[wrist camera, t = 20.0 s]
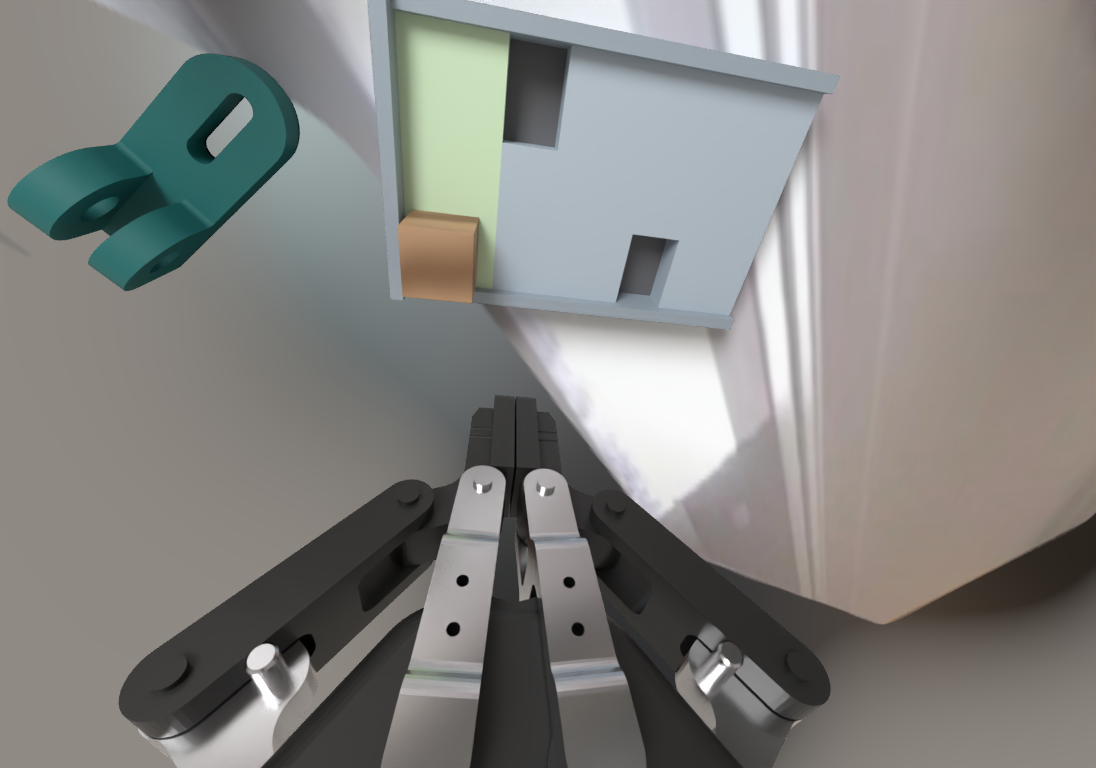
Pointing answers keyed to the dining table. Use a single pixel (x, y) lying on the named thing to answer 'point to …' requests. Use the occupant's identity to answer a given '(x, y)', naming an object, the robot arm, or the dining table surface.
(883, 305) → the dining table surface
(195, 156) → the bracket
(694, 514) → the dining table surface
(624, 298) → the tray
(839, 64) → the dining table surface
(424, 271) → the block
